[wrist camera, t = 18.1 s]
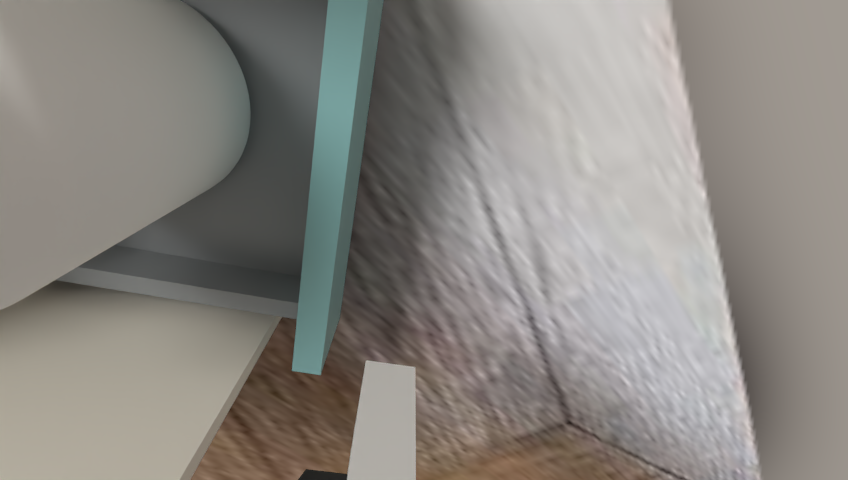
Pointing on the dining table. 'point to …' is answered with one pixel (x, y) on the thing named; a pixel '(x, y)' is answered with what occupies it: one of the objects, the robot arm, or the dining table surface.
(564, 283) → the dining table surface
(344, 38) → the teal drawer
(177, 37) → the beverage can
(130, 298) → the white drawer cabinet
